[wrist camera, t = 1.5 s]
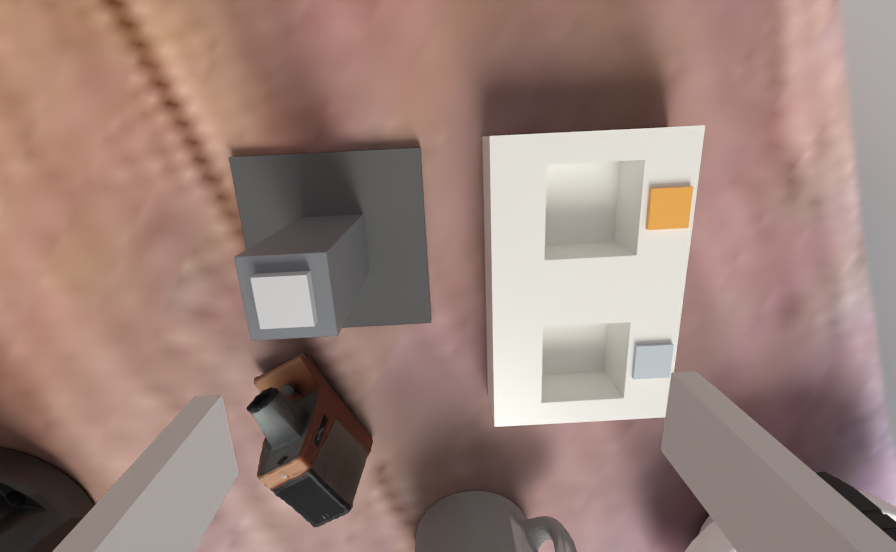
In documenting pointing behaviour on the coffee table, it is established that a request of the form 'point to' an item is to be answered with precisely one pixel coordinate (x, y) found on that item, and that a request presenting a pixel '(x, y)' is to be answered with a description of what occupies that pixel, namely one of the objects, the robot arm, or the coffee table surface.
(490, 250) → the socket block
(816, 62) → the coffee table surface
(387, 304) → the mat
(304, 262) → the plug
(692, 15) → the coffee table surface
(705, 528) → the bowl
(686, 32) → the coffee table surface
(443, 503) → the coffee mug
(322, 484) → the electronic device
